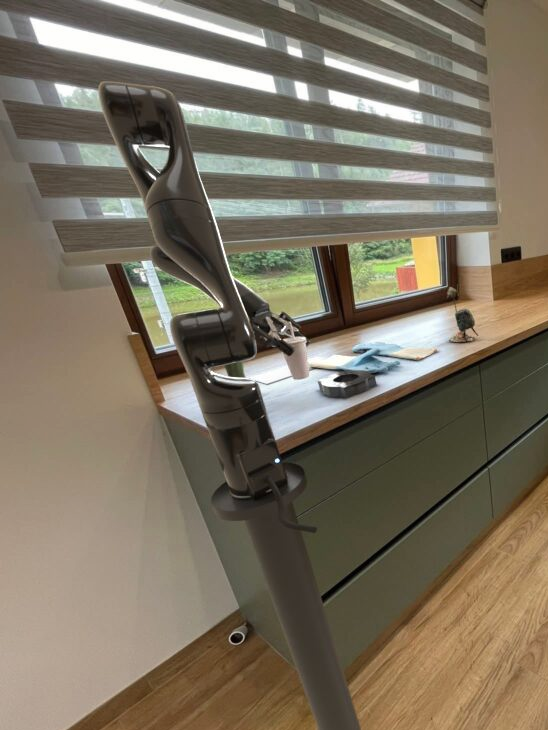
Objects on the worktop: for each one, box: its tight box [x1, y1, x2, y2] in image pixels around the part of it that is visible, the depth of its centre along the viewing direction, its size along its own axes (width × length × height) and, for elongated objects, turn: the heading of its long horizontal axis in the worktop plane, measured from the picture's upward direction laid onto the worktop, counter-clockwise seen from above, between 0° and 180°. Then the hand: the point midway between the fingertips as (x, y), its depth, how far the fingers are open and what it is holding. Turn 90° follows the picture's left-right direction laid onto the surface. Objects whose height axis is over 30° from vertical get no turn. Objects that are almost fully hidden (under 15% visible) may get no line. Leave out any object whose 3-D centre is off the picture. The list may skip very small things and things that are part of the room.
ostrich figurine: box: [446, 286, 480, 343], centre depth 154 cm, size 8×11×20 cm
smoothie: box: [281, 322, 310, 381], centre depth 104 cm, size 6×6×14 cm
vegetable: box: [223, 361, 247, 378], centre depth 108 cm, size 4×4×20 cm
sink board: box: [317, 369, 378, 399], centre depth 118 cm, size 13×13×3 cm
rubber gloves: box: [308, 341, 438, 374], centre depth 141 cm, size 27×33×6 cm
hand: (300, 348), depth 104 cm, fingers closed on smoothie, 6 cm apart
